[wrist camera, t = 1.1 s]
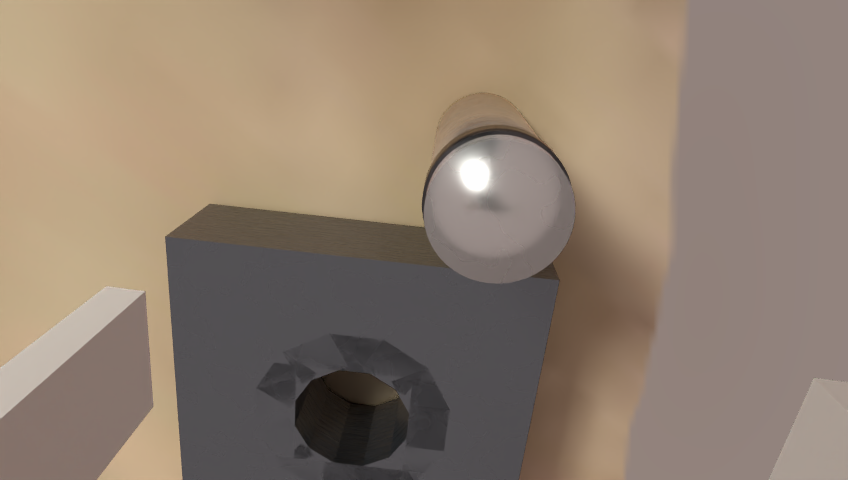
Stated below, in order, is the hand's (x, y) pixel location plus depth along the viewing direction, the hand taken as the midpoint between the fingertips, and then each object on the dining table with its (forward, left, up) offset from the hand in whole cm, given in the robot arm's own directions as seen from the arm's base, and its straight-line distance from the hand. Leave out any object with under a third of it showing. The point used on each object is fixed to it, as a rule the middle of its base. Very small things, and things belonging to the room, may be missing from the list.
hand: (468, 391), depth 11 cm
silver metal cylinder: (-1, +1, -19) cm, 19 cm away
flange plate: (+13, -4, -19) cm, 23 cm away
